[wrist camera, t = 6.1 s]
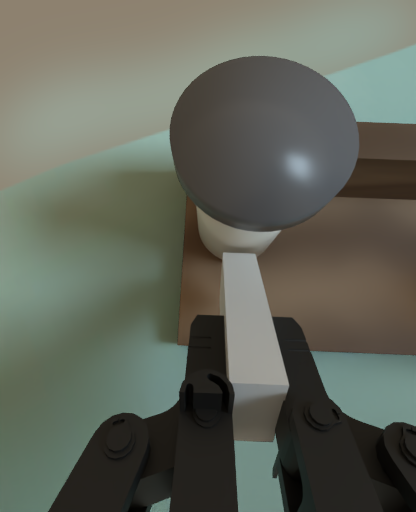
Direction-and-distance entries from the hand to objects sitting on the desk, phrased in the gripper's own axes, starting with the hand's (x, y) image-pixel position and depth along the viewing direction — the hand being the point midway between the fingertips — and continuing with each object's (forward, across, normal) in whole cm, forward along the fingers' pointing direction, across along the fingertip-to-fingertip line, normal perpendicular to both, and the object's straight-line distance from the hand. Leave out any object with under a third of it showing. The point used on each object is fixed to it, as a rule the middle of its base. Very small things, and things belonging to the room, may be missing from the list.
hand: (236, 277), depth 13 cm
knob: (+4, 0, +1) cm, 4 cm away
